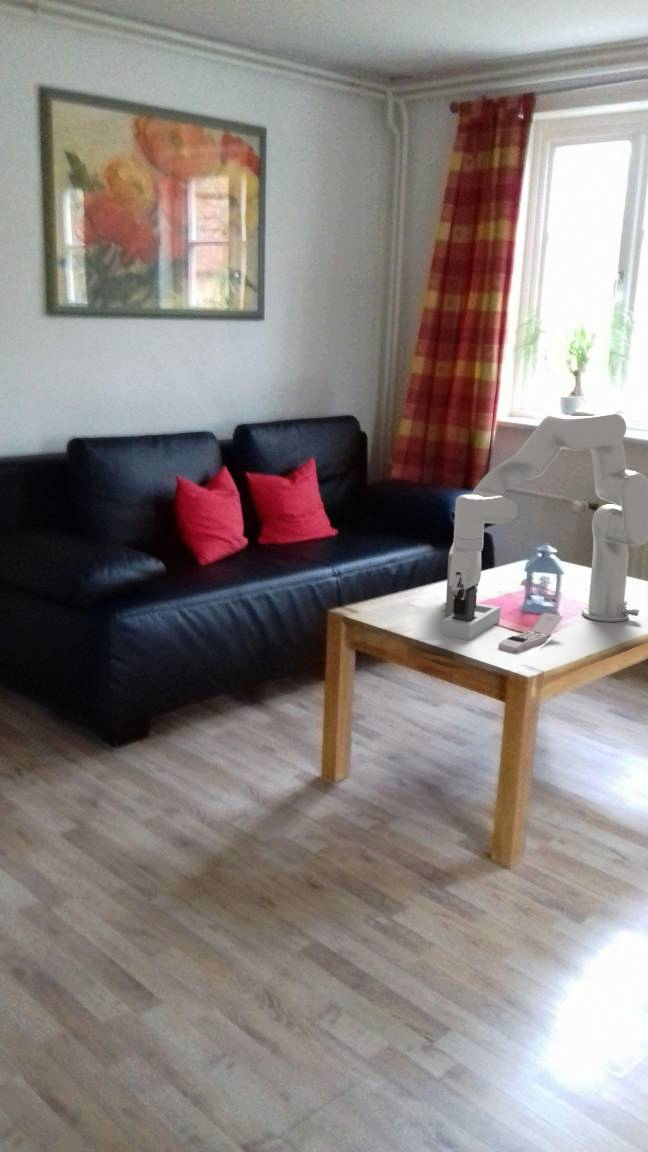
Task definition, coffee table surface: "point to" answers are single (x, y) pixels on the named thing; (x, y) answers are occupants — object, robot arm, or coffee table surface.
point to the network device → (449, 588)
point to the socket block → (471, 623)
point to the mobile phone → (532, 634)
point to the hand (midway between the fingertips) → (464, 610)
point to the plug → (468, 605)
